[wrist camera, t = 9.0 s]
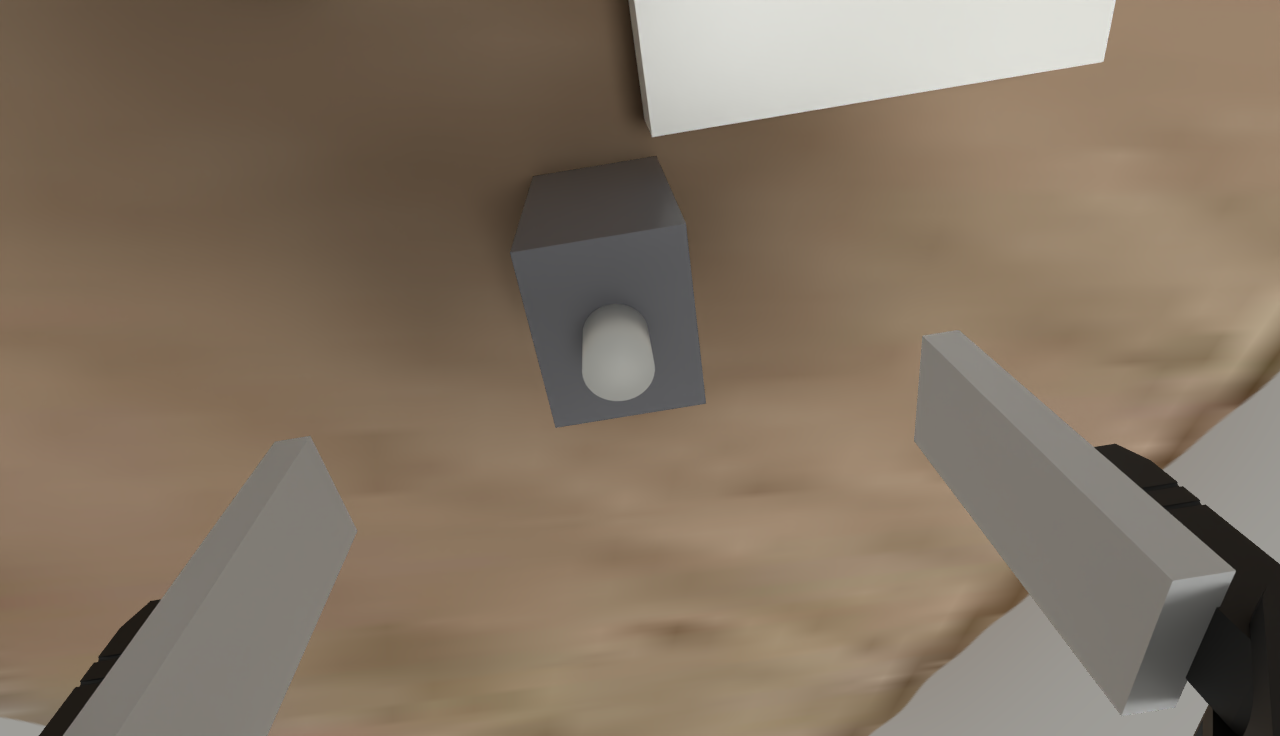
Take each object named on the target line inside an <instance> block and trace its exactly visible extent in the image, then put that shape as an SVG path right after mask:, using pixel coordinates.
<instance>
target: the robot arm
mask: <svg viewBox="0 0 1280 736" xmlns="http://www.w3.org/2000/svg"><path fill="white" fill-rule="evenodd" d="M914 441H915V443H916V444H917V445H918V447H919V448H920V449H921V451H922V452H923V453H924V455H925V456H926V457H927V459H928V460H929V461H930V463H931V464H932V465H933V467H934V468H935V469H936V471H937V472H938V473H939V475H940V476H941V477H942V479H943V480H944V481H945V483H946V484H947V485H948V487H949V488H950V489H951V491H952V492H953V493H954V495H955V496H956V497H957V499H958V500H959V501H960V503H961V504H962V505H963V506H964V508H965V509H966V510H967V512H968V513H969V514H970V516H971V517H972V518H973V520H974V521H975V522H976V524H977V525H978V526H979V528H980V529H981V530H982V532H983V533H984V534H985V536H986V537H987V538H988V540H989V541H990V542H991V544H992V545H993V546H994V548H995V549H996V550H997V552H998V553H999V554H1000V556H1001V557H1002V558H1003V560H1004V561H1005V562H1006V564H1007V565H1008V566H1009V568H1010V569H1011V570H1012V572H1013V573H1014V574H1015V575H1016V577H1017V578H1018V579H1019V581H1020V582H1021V583H1022V585H1023V586H1024V587H1025V589H1026V590H1027V591H1028V593H1029V594H1030V595H1031V597H1032V598H1033V599H1034V601H1035V602H1036V603H1037V605H1038V606H1039V607H1040V609H1041V610H1042V611H1043V613H1044V614H1045V615H1046V616H1047V618H1048V619H1049V620H1050V622H1051V623H1052V625H1053V626H1054V627H1055V628H1056V630H1057V631H1058V633H1059V634H1060V635H1061V636H1062V638H1063V639H1064V640H1065V642H1066V643H1067V644H1068V646H1069V647H1070V648H1071V650H1072V651H1073V652H1074V654H1075V655H1076V656H1077V658H1078V659H1079V660H1080V662H1081V663H1082V664H1083V666H1084V667H1085V668H1086V670H1087V671H1088V672H1089V674H1090V675H1091V676H1092V678H1093V679H1094V680H1095V681H1096V683H1097V684H1098V686H1099V687H1100V688H1101V690H1102V691H1103V692H1104V694H1105V695H1106V696H1107V698H1108V699H1109V700H1110V702H1111V703H1112V704H1113V705H1114V707H1115V708H1116V709H1117V711H1118V712H1119V713H1120V715H1121V716H1124V715H1131V714H1137V713H1144V712H1150V711H1156V710H1163V709H1169V708H1175V707H1176V704H1177V702H1178V700H1179V698H1180V696H1181V693H1182V691H1183V689H1184V686H1185V684H1186V682H1187V680H1188V682H1189V683H1190V684H1191V685H1192V686H1193V687H1194V688H1195V689H1196V690H1197V692H1198V693H1199V694H1200V695H1201V696H1202V697H1203V698H1204V700H1205V701H1206V702H1207V703H1208V704H1209V705H1208V707H1207V709H1206V711H1205V713H1204V715H1203V717H1202V719H1201V721H1200V723H1199V725H1198V727H1197V729H1196V731H1195V734H1194V736H1280V564H1279V563H1278V562H1276V561H1275V560H1274V559H1273V558H1271V557H1270V556H1269V555H1267V554H1266V553H1265V552H1264V551H1263V550H1261V549H1260V548H1259V547H1258V546H1256V545H1255V544H1254V543H1253V542H1251V541H1250V540H1249V539H1248V538H1246V537H1245V536H1244V535H1243V534H1241V533H1240V532H1239V531H1238V530H1236V529H1235V528H1234V527H1233V526H1231V525H1230V524H1229V523H1228V522H1227V521H1225V520H1224V519H1223V518H1222V517H1220V516H1219V515H1218V514H1217V513H1215V512H1214V511H1213V510H1212V509H1210V508H1209V507H1208V506H1207V505H1201V504H1200V500H1199V499H1198V498H1197V497H1195V496H1194V495H1193V494H1192V493H1190V492H1189V491H1188V490H1187V489H1186V488H1184V487H1183V486H1182V487H1179V486H1178V484H1177V481H1176V480H1174V479H1173V478H1172V477H1171V476H1169V475H1168V474H1167V473H1165V472H1164V471H1163V470H1162V469H1161V468H1159V467H1158V466H1157V465H1156V464H1154V463H1153V462H1152V461H1151V460H1149V459H1147V458H1144V457H1142V456H1140V455H1138V454H1136V453H1134V452H1132V451H1130V450H1128V449H1125V448H1123V447H1121V446H1119V445H1117V444H1111V445H1105V446H1098V447H1093V446H1092V445H1091V444H1089V443H1088V442H1087V441H1086V440H1085V439H1084V438H1083V437H1081V436H1080V435H1079V434H1078V433H1077V432H1076V431H1075V430H1073V429H1072V428H1071V427H1070V426H1069V425H1068V424H1066V423H1065V422H1064V421H1063V420H1062V419H1061V418H1060V417H1058V416H1057V415H1056V414H1055V413H1054V412H1053V411H1051V410H1050V409H1049V408H1048V407H1047V406H1046V405H1045V404H1043V403H1042V402H1041V401H1040V400H1039V399H1038V398H1037V397H1035V396H1034V395H1033V394H1032V393H1031V392H1030V391H1028V390H1027V389H1026V388H1025V387H1024V386H1023V385H1022V384H1020V383H1019V382H1018V381H1017V380H1016V379H1015V378H1013V377H1012V376H1011V375H1010V374H1009V373H1008V372H1007V371H1005V370H1004V369H1003V368H1002V367H1001V366H1000V365H999V364H997V363H996V362H995V361H994V360H993V359H992V358H990V357H989V356H988V355H987V354H986V353H985V352H984V351H982V350H981V349H980V348H979V347H978V346H977V345H975V344H974V343H973V342H972V341H971V340H970V339H969V338H967V337H966V336H965V335H964V334H963V333H962V332H960V331H959V330H955V331H949V332H943V333H937V334H931V335H925V336H923V337H922V349H921V362H920V374H919V386H918V399H917V411H916V423H915V436H914ZM356 533H357V529H356V527H355V525H354V523H353V521H352V519H351V517H350V515H349V513H348V511H347V509H346V507H345V505H344V503H343V501H342V499H341V497H340V495H339V493H338V491H337V489H336V487H335V485H334V483H333V481H332V479H331V477H330V475H329V473H328V471H327V469H326V467H325V465H324V463H323V461H322V459H321V457H320V455H319V453H318V451H317V449H316V447H315V444H314V442H313V440H312V438H311V436H307V437H301V438H295V439H288V440H282V441H276V442H274V444H273V445H272V446H271V448H270V449H269V451H268V452H267V453H266V455H265V456H264V458H263V459H262V460H261V462H260V463H259V464H258V466H257V467H256V469H255V470H254V471H253V473H252V474H251V476H250V477H249V478H248V480H247V481H246V483H245V484H244V485H243V487H242V488H241V489H240V491H239V492H238V494H237V495H236V496H235V498H234V499H233V501H232V502H231V503H230V505H229V506H228V507H227V509H226V510H225V512H224V513H223V514H222V516H221V517H220V519H219V520H218V521H217V523H216V524H215V526H214V527H213V528H212V530H211V531H210V532H209V534H208V535H207V537H206V538H205V539H204V541H203V542H202V544H201V545H200V546H199V548H198V549H197V550H196V552H195V553H194V555H193V556H192V557H191V559H190V560H189V562H188V563H187V564H186V566H185V567H184V568H183V570H182V571H181V573H180V574H179V575H178V577H177V578H176V580H175V581H174V582H173V584H172V585H171V587H170V588H169V589H168V591H167V592H166V593H165V595H164V596H163V598H162V599H161V600H154V601H150V602H149V603H148V604H147V605H146V606H145V607H143V608H142V609H141V610H140V611H139V612H138V613H137V614H135V615H134V616H133V617H132V618H131V619H130V620H129V621H128V622H126V623H125V624H124V625H123V626H122V627H121V628H120V629H119V630H118V632H117V633H116V634H115V636H114V637H113V638H112V640H111V641H110V642H109V643H108V645H107V646H106V647H105V649H104V650H103V651H102V653H101V654H100V655H99V657H98V658H99V661H98V662H96V663H93V665H92V666H91V667H90V669H89V670H88V671H87V673H86V674H85V675H84V677H83V678H82V679H81V681H80V682H81V685H80V687H75V689H74V690H73V691H72V693H71V694H70V695H69V697H68V698H67V699H66V701H65V702H64V703H63V704H62V706H61V707H60V708H59V710H58V711H57V712H56V714H55V715H54V716H53V718H52V719H51V720H50V722H49V723H48V724H47V726H46V727H45V728H44V730H43V731H42V733H41V734H40V735H39V736H267V735H268V733H269V730H270V728H271V726H272V724H273V721H274V719H275V717H276V714H277V712H278V710H279V708H280V705H281V703H282V701H283V699H284V696H285V694H286V692H287V690H288V687H289V685H290V683H291V680H292V678H293V676H294V674H295V671H296V669H297V667H298V665H299V662H300V660H301V658H302V655H303V653H304V651H305V649H306V646H307V644H308V642H309V640H310V637H311V635H312V633H313V630H314V628H315V626H316V624H317V621H318V619H319V617H320V615H321V612H322V610H323V608H324V606H325V603H326V601H327V599H328V596H329V594H330V592H331V590H332V587H333V585H334V583H335V581H336V578H337V576H338V574H339V571H340V569H341V567H342V565H343V562H344V560H345V558H346V556H347V553H348V551H349V549H350V546H351V544H352V542H353V540H354V537H355V535H356Z"/></svg>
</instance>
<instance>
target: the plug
mask: <svg viewBox="0 0 1280 736" xmlns="http://www.w3.org/2000/svg"><path fill="white" fill-rule="evenodd" d="M510 254H511V258H512V262H513V266H514V270H515V274H516V277H517V281H518V285H519V289H520V293H521V297H522V300H523V304H524V308H525V312H526V316H527V320H528V323H529V327H530V331H531V335H532V339H533V343H534V346H535V350H536V354H537V358H538V362H539V366H540V369H541V373H542V377H543V381H544V385H545V389H546V392H547V396H548V400H549V404H550V408H551V412H552V415H553V419H554V423H555V427H556V428H557V427H563V426H569V425H576V424H582V423H588V422H594V421H600V420H607V419H613V418H619V417H625V416H631V415H638V414H644V413H650V412H656V411H662V410H669V409H675V408H681V407H687V406H693V405H700V404H706V400H705V391H704V382H703V373H702V364H701V355H700V346H699V337H698V328H697V319H696V310H695V301H694V292H693V283H692V274H691V265H690V256H689V247H688V239H687V230H686V223H685V221H684V218H683V216H682V214H681V211H680V209H679V207H678V205H677V202H676V200H675V198H674V195H673V193H672V191H671V188H670V186H669V184H668V182H667V179H666V177H665V175H664V172H663V170H662V168H661V165H660V163H659V161H658V159H657V156H653V157H647V158H641V159H635V160H629V161H623V162H617V163H611V164H605V165H599V166H593V167H586V168H580V169H574V170H568V171H562V172H556V173H550V174H544V175H538V176H533V178H532V181H531V185H530V188H529V191H528V195H527V198H526V201H525V205H524V208H523V211H522V215H521V218H520V221H519V225H518V228H517V231H516V234H515V238H514V241H513V244H512V248H511V251H510Z"/></svg>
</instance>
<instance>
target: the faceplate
mask: <svg viewBox="0 0 1280 736" xmlns="http://www.w3.org/2000/svg"><path fill="white" fill-rule="evenodd" d="M628 1H629V9H630V16H631V24H632V31H633V38H634V46H635V53H636V61H637V68H638V75H639V83H640V90H641V98H642V105H643V113H644V120H645V123H646V125H647V127H648V129H649V131H650V134H651V136H652V137H656V136H662V135H668V134H674V133H680V132H686V131H692V130H698V129H704V128H710V127H716V126H722V125H728V124H734V123H740V122H746V121H752V120H758V119H764V118H770V117H776V116H782V115H788V114H794V113H800V112H806V111H812V110H818V109H824V108H830V107H836V106H842V105H848V104H854V103H860V102H866V101H872V100H878V99H884V98H890V97H896V96H902V95H908V94H914V93H919V92H925V91H931V90H937V89H943V88H949V87H955V86H961V85H967V84H973V83H979V82H985V81H991V80H997V79H1003V78H1009V77H1015V76H1021V75H1027V74H1033V73H1039V72H1045V71H1051V70H1057V69H1063V68H1069V67H1075V66H1081V65H1087V64H1093V63H1099V62H1103V61H1104V56H1105V51H1106V46H1107V41H1108V36H1109V31H1110V26H1111V21H1112V16H1113V11H1114V6H1115V2H1116V0H628Z"/></svg>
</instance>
